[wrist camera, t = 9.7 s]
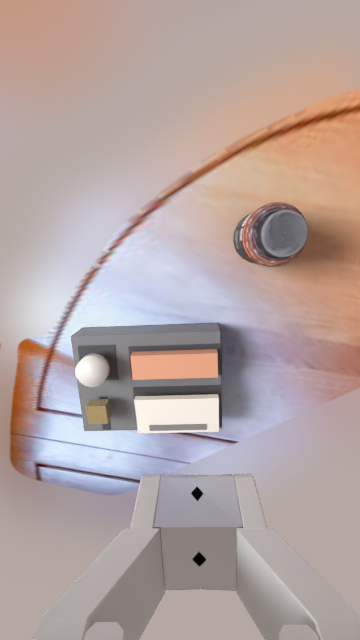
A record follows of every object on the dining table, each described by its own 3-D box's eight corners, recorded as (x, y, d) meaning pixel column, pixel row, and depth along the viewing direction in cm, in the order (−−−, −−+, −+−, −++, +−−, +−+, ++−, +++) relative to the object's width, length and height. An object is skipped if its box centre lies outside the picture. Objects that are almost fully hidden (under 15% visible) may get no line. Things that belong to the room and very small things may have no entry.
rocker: (217, 392, 36) (218, 398, 35) (218, 425, 38) (219, 432, 36) (135, 394, 36) (134, 400, 35) (139, 426, 38) (137, 433, 37)
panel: (218, 322, 39) (221, 331, 35) (219, 411, 42) (222, 428, 38) (82, 327, 40) (70, 336, 36) (94, 414, 43) (84, 431, 39)
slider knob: (111, 395, 37) (105, 405, 35) (113, 412, 38) (107, 423, 36) (92, 395, 38) (85, 406, 35) (94, 412, 38) (88, 424, 36)
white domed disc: (108, 353, 35) (104, 357, 33) (111, 381, 36) (108, 386, 34) (77, 353, 35) (73, 358, 34) (81, 382, 36) (77, 387, 34)
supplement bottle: (289, 248, 36) (331, 250, 25) (244, 271, 37) (266, 282, 26) (270, 202, 35) (305, 183, 24) (224, 226, 36) (238, 218, 25)
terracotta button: (216, 348, 35) (217, 353, 34) (217, 372, 36) (218, 377, 35) (132, 351, 36) (130, 356, 34) (134, 374, 36) (132, 380, 35)
